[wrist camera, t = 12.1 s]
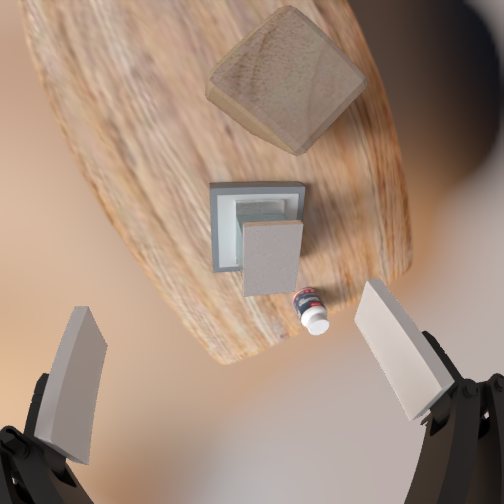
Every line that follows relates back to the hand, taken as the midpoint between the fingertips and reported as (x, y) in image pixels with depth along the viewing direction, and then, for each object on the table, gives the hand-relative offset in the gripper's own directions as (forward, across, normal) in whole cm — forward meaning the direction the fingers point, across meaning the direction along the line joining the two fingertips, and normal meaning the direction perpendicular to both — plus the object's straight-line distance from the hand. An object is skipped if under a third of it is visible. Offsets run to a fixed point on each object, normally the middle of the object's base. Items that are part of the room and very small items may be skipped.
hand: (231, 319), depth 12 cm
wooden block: (+32, +6, +11) cm, 34 cm away
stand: (+31, +6, -10) cm, 33 cm away
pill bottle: (+31, +17, -28) cm, 45 cm away
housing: (+28, +7, -10) cm, 30 cm away
